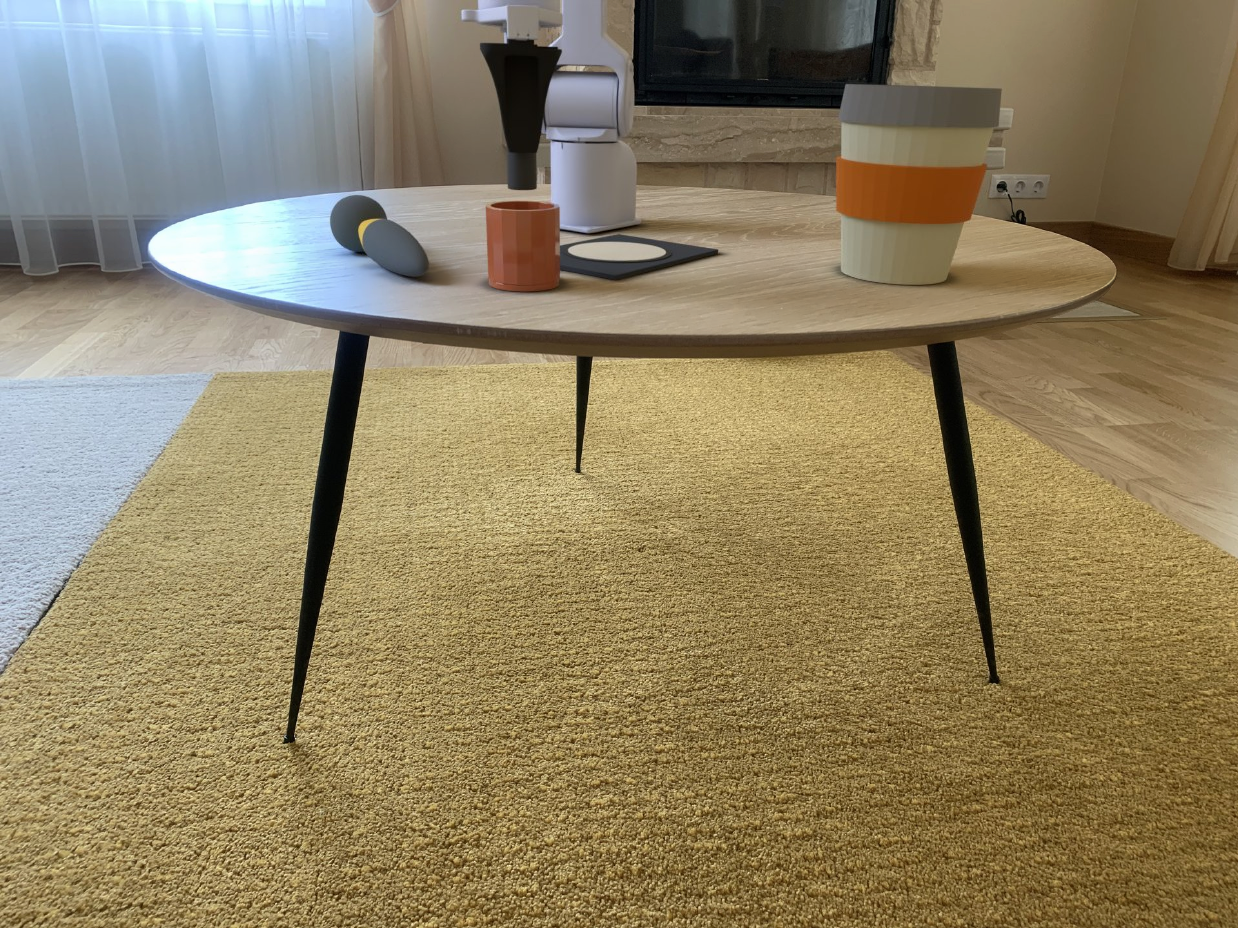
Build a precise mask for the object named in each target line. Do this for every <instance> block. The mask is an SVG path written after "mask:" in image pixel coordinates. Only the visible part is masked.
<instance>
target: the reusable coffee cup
mask: <svg viewBox="0 0 1238 928" xmlns="http://www.w3.org/2000/svg"><path fill="white" fill-rule="evenodd" d="M1002 92H1003V88H997V87H996V88H995V87H969V86H968V87H967V86H966V87H965V86H937V85H934V86H933V85H903V84H902V85H900V84H897V85H896V84H866V83H865V84H862V83H861V84H860V83H846V84H845V86H844V90H843V94H842V100H841V104H840V109H839V113H838V117H837V121H839V122H841V136H840V137H841V139H840V141H841V142H840V143H841V144H840V145H841V147H840V149H841V151H840V155H839V156H836V159H835V161H836V167H835V174H836V175H835V177H836V179H835V184H836V187H835V190H836V191H835V196H836V197H835V201H836V202H835V205H836V206H835V211H836V212H837V213H839V214H840V271H841V272H842V274H845V275H846V276H849V277H852V278H855V279H859V280H863V281H867V282H874V283H881V284H891V285H906V286H907V285H908V286H910V285H911V286H917V285H918V286H921V285H934V284H939V283H943V282H945V281H947V279H948V275H949V272H950V269H951V266H952V262H953V260H954V256H955V253H956V250H957V247H958V243H959V240H960V237H961V235H962V230H963V228H964V225H965V223H967V222H970V221H971V220H972V217H973V216H972V215H973V213H974V210H975V206H976V203H977V201H978V197H979V194H980V191H981V188H982V185H983V181H984V178H985V175H986V172H987V169H988V164H987V163H984V162H985V161H984V160H985V158H986V154H987V152H988V148H989V145H990V141H991V139H992V135H993V132H994V129H995V128H998V127H999V126H1000V115H1001V102H1002Z"/></svg>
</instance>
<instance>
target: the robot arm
mask: <svg viewBox="0 0 1238 928" xmlns="http://www.w3.org/2000/svg"><path fill="white" fill-rule="evenodd" d="M461 21H462V22H464V23H475V24H477V25H481V26H487V27H494V28H499V30H500V31H499V32H500V33H503V37H504V39H503V41H504V42H480V43H479V50H480V52H481V54H482V56H483V58H484V61H485V63H486V65H487V67H488V70H489V73H490V76H491V78H492V81H493V84H494V88H495V92H496V96H497V101H498V106H499V113H500V119H501V124H502V130H503V136H504V139H505V144H506V149H507V148H508V151H509V153H536V154H537V153H538V150H539V146H540V141H541V137H542V134H543V135H546V138H545V139H546V140H550V203H554V204H558V205H559V207H560V230H563V231H571V232H579V233H585V234H594V233H600V232H605V231H609V230H615V229H620V228H625V227H632V226H636V225H641V224H642V221H643V220H642V219H640V218H636V211H637V180H638V179H637V178H638V177H637V176H638V165H637V159H636V156H635V153H634V151H633V150H632V148H631V147H630V146H629V145H628V144H627V143H626V142H624V141H623V140H622V139H623V138H626V137H627V136H628V134H630V133H631V131H632V130H633V123H634V118H635V117H634V115H635V83H634V63H633V61H632V59H631V56H630V54H629V53H628V52H627V50H625V49H624V48H623V47H622V46H621V45H619V44H618V43H617V42H616V41H615V40H614V39H612V38H611V37H610V36H609V34H608V0H477V9H462V10H461ZM550 28H561V35H560V36H558V38H556V39H555V40H554V41H553V42H551V43H550V44H549V45H547V46H542V45H541V46H540V45H538V44H537V43H535V41H538V40H539V39H540V31H541V29H550ZM569 66H572V67H608V68H611V70H612V71H587V70H560V69H561V68H563V67H569Z"/></svg>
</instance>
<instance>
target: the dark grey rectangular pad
mask: <svg viewBox="0 0 1238 928" xmlns="http://www.w3.org/2000/svg"><path fill="white" fill-rule="evenodd" d="M717 254H719V249H718V248H712V247H706V246H700V245H699V246H698V245H692V244H687V243H686V244H685V243H681V242H680V243H679V242H672V241H666V240H660V239H652V238H647V237H641V236H633V235H629V234H628V235H626V234H621V233H617V234H611V235H606V236H601V237H597V238H592V239H591V238H590V239H587V240H581V241H576V242H570V243H565V244H560V271H565V272H570V273H571V272H572V273H577V274H582V275H587V276H592V277H597V278H603V279H607V280H613V281H617V280H620V279H625V278H629V277H633V276H636V275H640V274H644V273H648V272H653V271H656V270H660V269H663V268H668V267H671V266H675V265H678V264H682V263H687V262H690V261H695V260H698V259H702V258H706V257H710V256H714V255H717Z"/></svg>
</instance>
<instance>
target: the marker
mask: <svg viewBox="0 0 1238 928" xmlns="http://www.w3.org/2000/svg"><path fill="white" fill-rule="evenodd" d="M506 169H507V170H506V177H507V178H506V180H507V189H508V190H512V191H533V190H534V191H535V190H537V189H538V179H537V177H538V175H537V174H538V173H537V169H538V167H537V153H509V151H508V148H507V147H506Z"/></svg>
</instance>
